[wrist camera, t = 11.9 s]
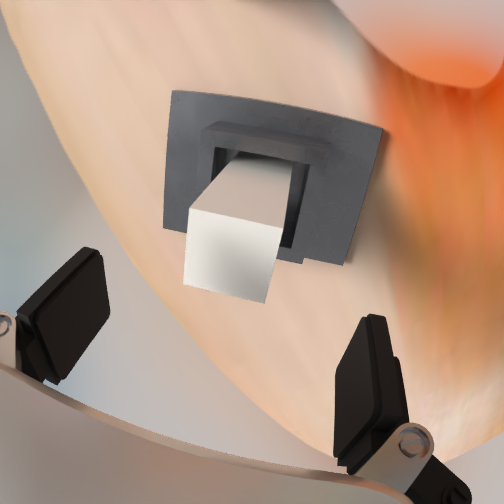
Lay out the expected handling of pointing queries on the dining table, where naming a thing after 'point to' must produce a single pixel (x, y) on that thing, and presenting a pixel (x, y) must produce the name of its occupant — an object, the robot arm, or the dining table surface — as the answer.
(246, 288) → the rail post
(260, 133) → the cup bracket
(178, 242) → the dining table surface
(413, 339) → the dining table surface
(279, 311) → the dining table surface
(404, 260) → the dining table surface
